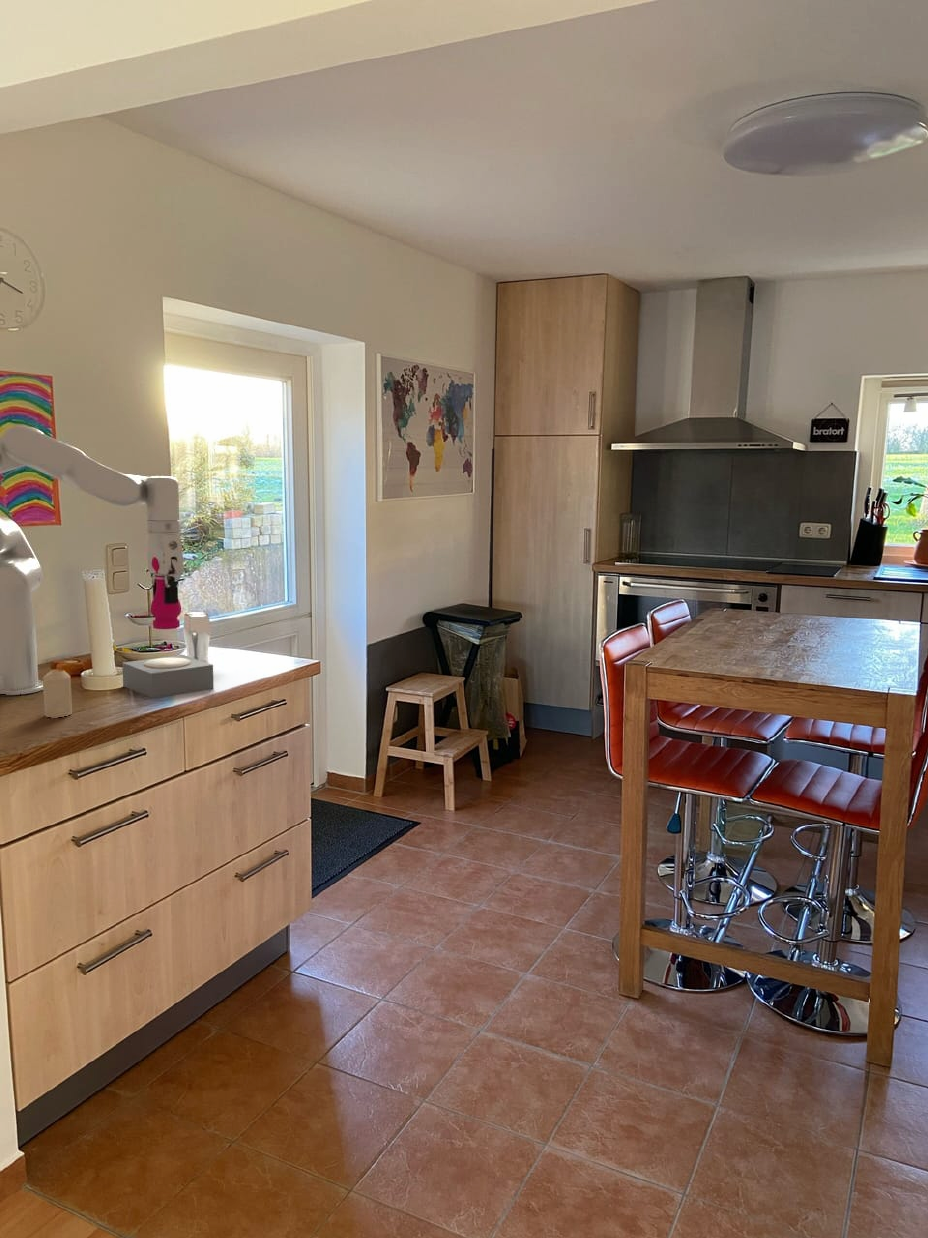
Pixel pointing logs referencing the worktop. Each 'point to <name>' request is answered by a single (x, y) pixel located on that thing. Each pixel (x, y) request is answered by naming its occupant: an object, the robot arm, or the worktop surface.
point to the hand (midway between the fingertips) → (165, 601)
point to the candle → (57, 694)
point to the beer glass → (197, 635)
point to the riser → (167, 676)
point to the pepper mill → (163, 604)
